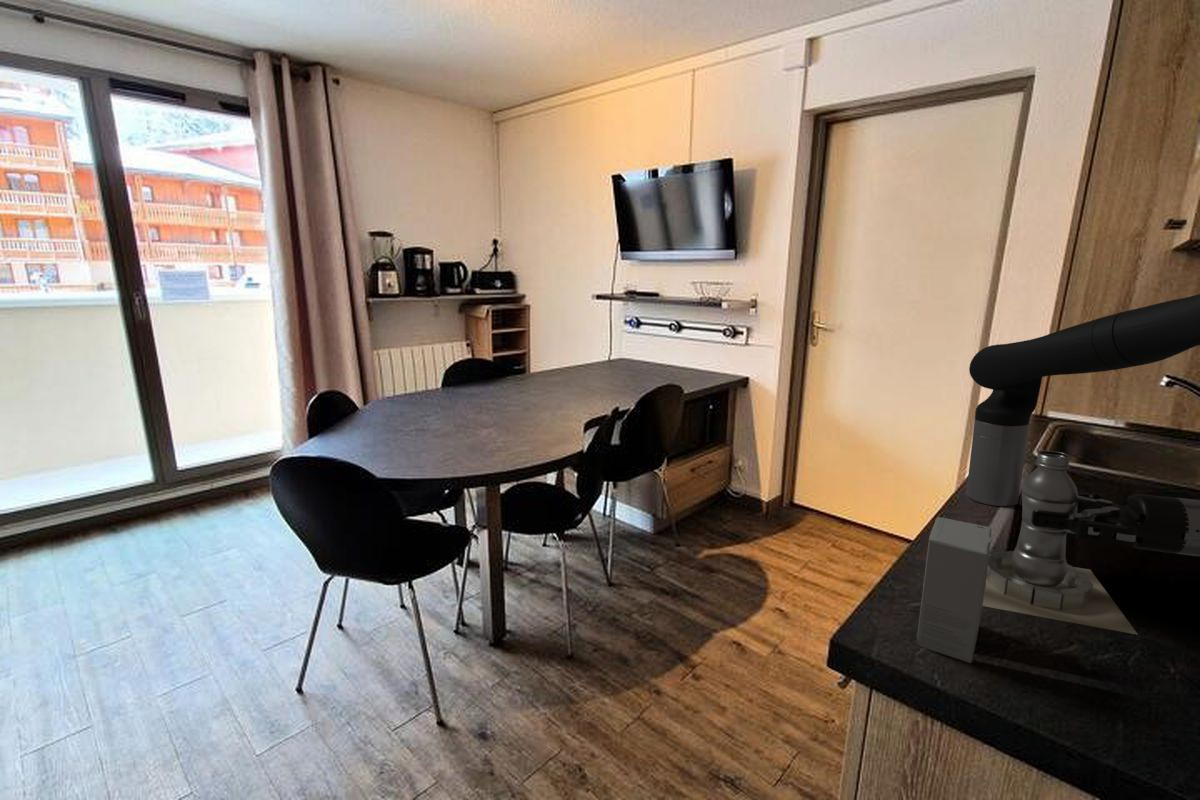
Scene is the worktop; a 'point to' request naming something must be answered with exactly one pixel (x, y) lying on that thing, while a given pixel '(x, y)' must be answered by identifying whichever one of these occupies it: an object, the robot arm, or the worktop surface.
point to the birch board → (1093, 614)
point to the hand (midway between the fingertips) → (1026, 508)
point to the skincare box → (954, 588)
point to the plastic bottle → (1042, 546)
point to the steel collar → (1037, 594)
